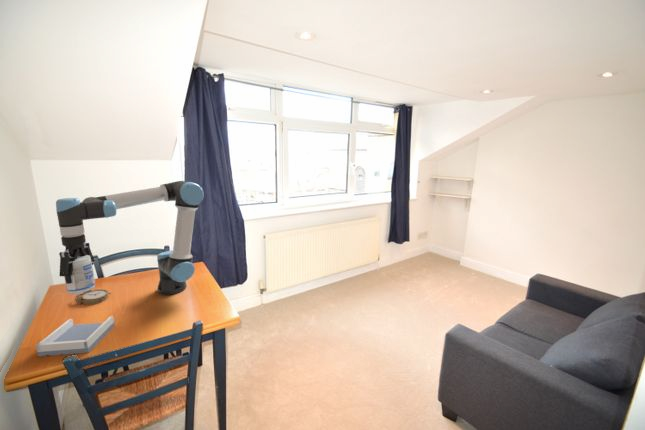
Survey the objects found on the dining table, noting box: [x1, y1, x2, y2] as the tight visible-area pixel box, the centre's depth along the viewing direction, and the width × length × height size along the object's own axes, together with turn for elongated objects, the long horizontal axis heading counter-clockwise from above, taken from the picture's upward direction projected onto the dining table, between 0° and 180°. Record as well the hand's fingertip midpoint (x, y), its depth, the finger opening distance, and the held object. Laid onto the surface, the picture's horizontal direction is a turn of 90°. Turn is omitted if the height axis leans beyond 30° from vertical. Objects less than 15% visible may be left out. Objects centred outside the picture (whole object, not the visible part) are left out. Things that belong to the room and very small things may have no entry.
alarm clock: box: [74, 288, 112, 305], centre depth 152 cm, size 11×5×15 cm
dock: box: [35, 315, 115, 357], centre depth 119 cm, size 18×18×5 cm
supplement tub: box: [64, 255, 96, 295], centre depth 121 cm, size 10×10×15 cm
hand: (80, 284), depth 122 cm, fingers closed on supplement tub, 10 cm apart
